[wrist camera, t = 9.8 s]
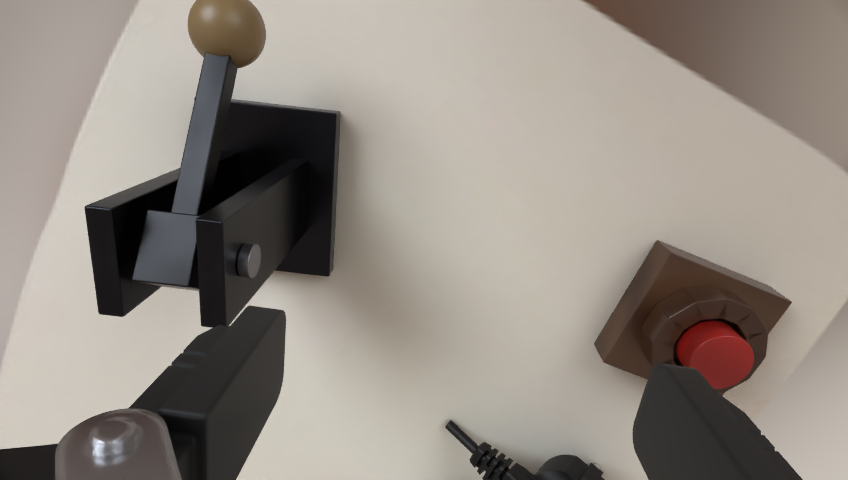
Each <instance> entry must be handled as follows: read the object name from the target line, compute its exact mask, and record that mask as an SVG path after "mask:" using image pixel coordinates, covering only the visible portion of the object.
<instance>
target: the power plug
mask: <svg viewBox="0 0 848 480" xmlns="http://www.w3.org/2000/svg"><path fill="white" fill-rule="evenodd" d="M445 428H446V429H447V430H448V431H449V432H450V433H451V434H452V435H454V436H455V437H456V438H457V439H458V440H459V441H460V442H461V443H462V444H463V445H464V446H465V447H466V448H467V449H468V450H469V451H470V452H471V453H472V454H473V455H472V456H471V458H470V462H471V464H472V465H473V466H474V468H475V467H478V468H479V469H478V470H477V472H478V473H479V474H481V473H482V472H483V471H486V473H485V475H484V476H483V480H604V479H603V478H602V477H601V475H602V474H603V472H602V471H601V467H600V466H599V465H598V464H597V463H593V464H592V463H591V464H590V465H589V466H588V465H587V464H585V463H584V462H583V461H582V460H581V459H580V458H578V457H577V456H573V455H559V456H555V457H553V458H551V459H549V460H548V461H547V462H546V463H545V464H544V465H543V466H542V467H541V468H540V469H539V471H538V472H537V473H536V474H535V475H533V474H532V473H530V472H529V471H528V470H527V469H526V468H524V467H523V466H521V465H519V464H518V463H516V464H515V465H514V466H513V467H512V468H511V469H509V466H510V464H511V463H512V461H513V460H512V459H510V458H509V459H507V460H506V459H504V458H505V456H506V455H504V454H503V453H501V454H500V455H499V456H498V457H497V458H496V457H495V456H496V454H497V453H498V450H497V449H494V450H492V449H491V445H489V444H487V443H486V442H483V443H482V444H481V445H479V446H478V445H477V444H476V443H475V442H474V441H473V440H472V439H471V438H470V437H469V436H467V435H466V434H465V433H464V432H463V431H462V430H461V429H460V428H459V427H458V426H457V425H456V424H455V423H454V422H453V421H452V420H451V421H449V422H448V424H447V425H446V427H445Z"/></svg>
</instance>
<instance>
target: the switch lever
mask: <svg viewBox="0 0 848 480" xmlns="http://www.w3.org/2000/svg"><path fill="white" fill-rule="evenodd" d="M188 31H189V35H190V38H191V41H192V43H193V45H194V46H195V48H196V49H197V51H198V52H199V53H200V54H201V55H202V56H203V57H204V60H203V65H202V69H201V74H200V79H199V83H198V88H197V93H196V98H195V102H194V107H193V112H192V116H191V121H190V126H189V130H188V135H187V140H186V144H185V149H184V154H183V158H182V163H181V168H180V172H179V177H178V182H177V186H176V191H175V196H174V200H173V205H172V210H171V212H166V211H157V210H147V214H146V218H145V223H144V227H143V231H142V236H141V240H140V245H139V249H138V254H137V258H136V263H135V267H134V272H133V276H132V281H135V282H141V283H146V284H152V285H157V286H163V287H171V288H179V289H188V290H197V291H199V277H198V258H197V240H196V221H195V220H196V218H198V217H200V216H201V215H203V214H204V213H206V212H207V211H209V208H210V203H211V198H212V193H213V188H214V183H215V178H216V173H217V168H218V163H219V158H220V153H221V148H222V143H223V138H224V133H225V128H226V123H227V118H228V113H229V108H230V103H231V98H232V93H233V88H234V83H235V78H236V73H237V68H241V67H245V66H247V65H249V64H251V63H252V62H253V61H255V60H256V59H257V58H258V57H259V55H260V54H261V52H262V50H263V48H264V45H265V40H266V30H265V24H264V21H263V19H262V16H261V14H260V13H259V11H258V10H257V8H256V7H255V6H254V5H253V4H252V3H251V2H250V1H249V0H196V2H195V3H194V4H193V6H192V8H191V10H190V13H189V16H188Z"/></svg>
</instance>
